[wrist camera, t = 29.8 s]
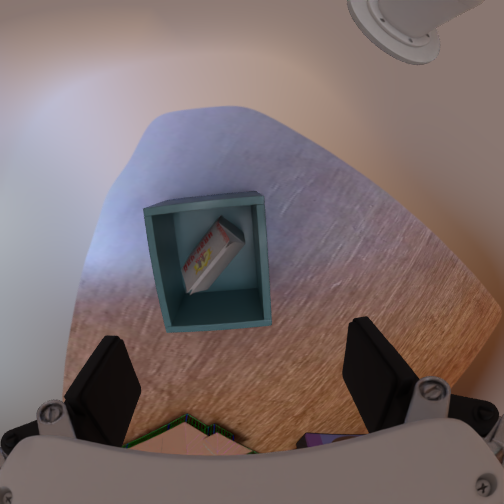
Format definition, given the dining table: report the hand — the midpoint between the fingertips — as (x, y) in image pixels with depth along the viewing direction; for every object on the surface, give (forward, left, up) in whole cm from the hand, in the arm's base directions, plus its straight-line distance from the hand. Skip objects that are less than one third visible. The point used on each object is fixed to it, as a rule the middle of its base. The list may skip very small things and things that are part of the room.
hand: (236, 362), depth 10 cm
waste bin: (+2, -3, -26) cm, 27 cm away
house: (+50, -17, -27) cm, 59 cm away
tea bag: (+1, -3, -26) cm, 26 cm away
